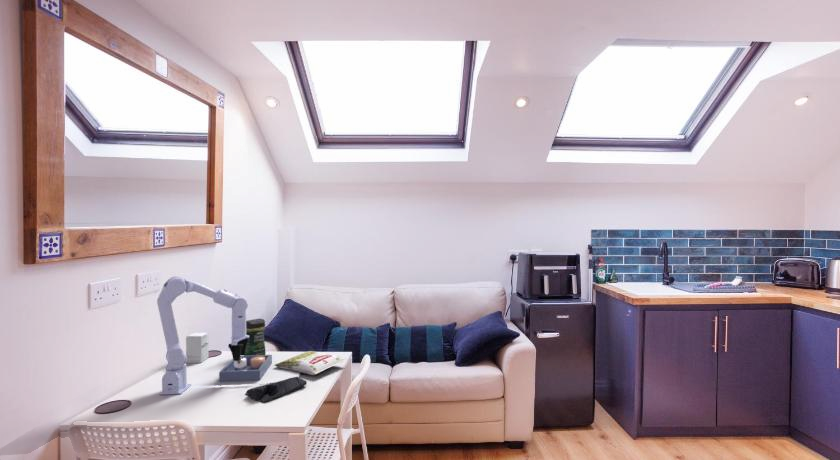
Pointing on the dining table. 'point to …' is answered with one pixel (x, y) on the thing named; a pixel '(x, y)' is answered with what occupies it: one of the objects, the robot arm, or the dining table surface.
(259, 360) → the peach round blob
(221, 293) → the robot arm
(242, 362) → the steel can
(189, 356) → the supplement box
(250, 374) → the slate blue tote
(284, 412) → the dining table surface
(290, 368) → the frozen beans
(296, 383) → the dark slate chunk
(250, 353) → the coffee jar
